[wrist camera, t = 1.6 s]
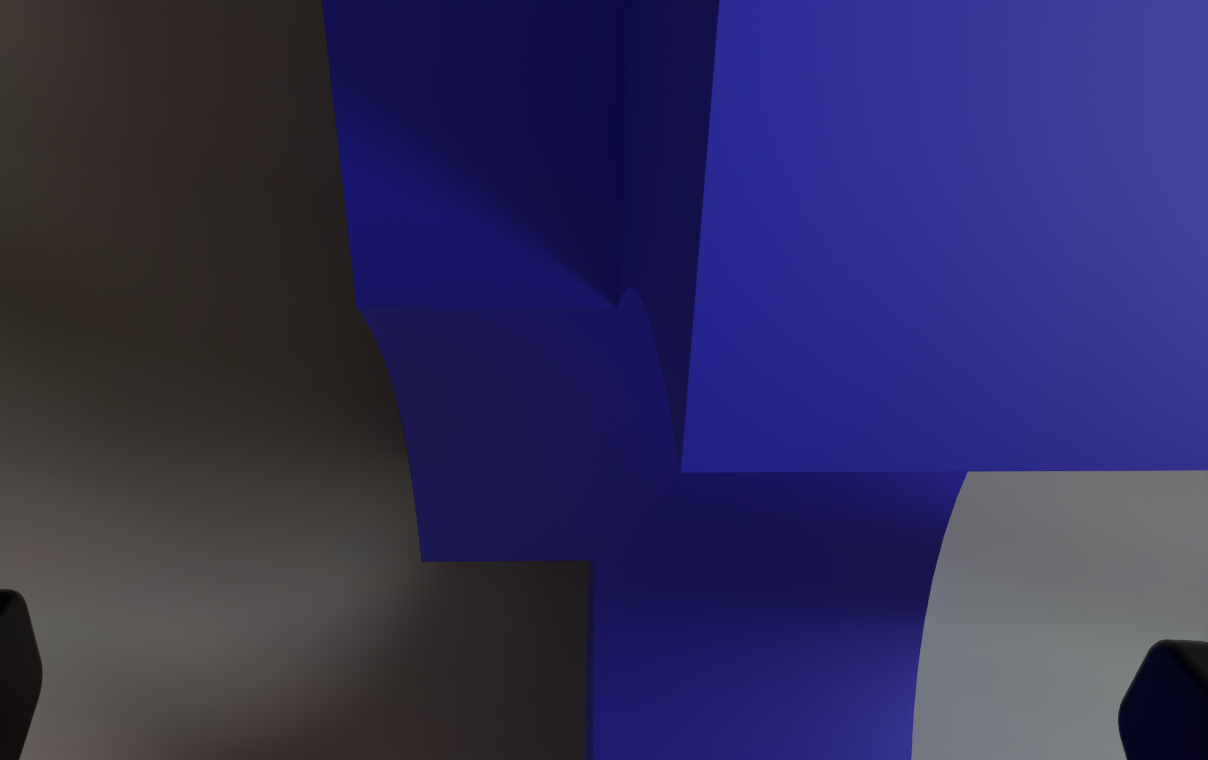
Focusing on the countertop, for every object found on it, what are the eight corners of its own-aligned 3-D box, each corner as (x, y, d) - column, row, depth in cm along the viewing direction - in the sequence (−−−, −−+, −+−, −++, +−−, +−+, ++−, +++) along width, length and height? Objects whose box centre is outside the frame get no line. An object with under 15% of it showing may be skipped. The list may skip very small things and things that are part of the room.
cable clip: (384, -258, 7) (18, -83, 2) (1041, -240, 8) (2009, -47, 3) (464, 830, 14) (415, 1490, 9) (814, 824, 14) (958, 1463, 9)
